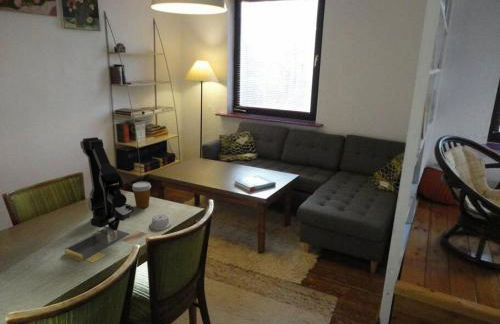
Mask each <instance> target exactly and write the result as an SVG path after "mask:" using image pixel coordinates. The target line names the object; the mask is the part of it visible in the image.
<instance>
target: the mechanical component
mask: <svg viewBox="0 0 500 324" xmlns="http://www.w3.org/2000/svg"><path fill="white" fill-rule="evenodd" d="M172 225H173V222H172V220H171V219H170V217H169V215H167V214H164V213H163V214H162V213H161V214H155V215H153V216H152V218H151V221H150V222H149V228H151V229H152V230H155V231H156V230H157V231H162V230H167V229H169V228H171V226H172Z"/></svg>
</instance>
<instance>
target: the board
mask: <svg viewBox="0 0 500 324" xmlns="http://www.w3.org/2000/svg"><path fill="white" fill-rule="evenodd" d="M147 235H148V233H147V232H144V231H140V230H136V231H134V232H132V233H129V235H127V236H126V237H124V238H122V239H120V241H121V242H124V243H129V244H132V243H135V242H137V241H138V240H139V239H142V238H143V237H144V236H147Z"/></svg>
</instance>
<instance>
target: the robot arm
mask: <svg viewBox="0 0 500 324" xmlns="http://www.w3.org/2000/svg"><path fill="white" fill-rule="evenodd" d="M79 143H80V148H81V150H82V153H83V154H84V155H85V156H86V157H87V160H88V161H87V162H88V167H89V174H90V180H91V187H92V188H91V190H90V193H89V199H88V202H87V205H88V209H89V211H91V212H92V217H91V218H90V225H91V226H94V227H97V228H100V229H101V228H103V227H104V226H106V227H108V226H109V227H110V228H112V229H116V230H119V224H120V222H121V221H122V222H123V221H126V220H127V219H129V218H130V217H131V214H133V213H134V211H135V210H134V206H133V205H132V204H129V203H127V200H128V199H127V196H126V195H125V194H123V192H122V191H121V189H123V188H124V181H123V178H122V175H121V173H120V172H118V170H117V168H116V167H115V166H113V165H112V164H111V162H110V160H109V159H110V158H108V154H107V152H106V150H105V147H104V141H103V139H99V137H98V136H95V137H87V138H82V140H81V141H80V142H79Z"/></svg>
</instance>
